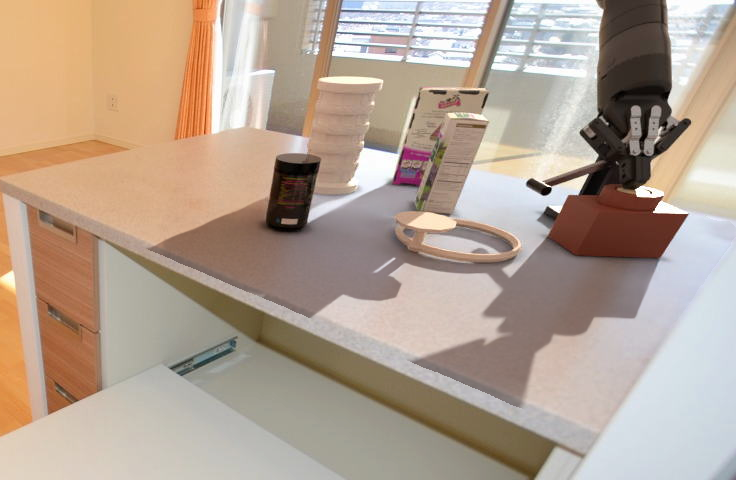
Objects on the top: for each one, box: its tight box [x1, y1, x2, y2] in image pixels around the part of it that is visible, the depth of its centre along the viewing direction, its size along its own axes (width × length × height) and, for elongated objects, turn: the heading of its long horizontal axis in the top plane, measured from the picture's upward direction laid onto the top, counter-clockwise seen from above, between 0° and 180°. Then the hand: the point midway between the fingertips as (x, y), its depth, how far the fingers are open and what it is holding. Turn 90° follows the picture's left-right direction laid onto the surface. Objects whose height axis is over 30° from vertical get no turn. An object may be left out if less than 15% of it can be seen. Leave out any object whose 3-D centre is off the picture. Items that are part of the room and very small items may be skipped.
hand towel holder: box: [394, 210, 522, 263], centre depth 80 cm, size 17×4×21 cm
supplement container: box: [264, 152, 321, 233], centre depth 86 cm, size 7×7×10 cm
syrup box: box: [414, 113, 490, 215], centre depth 91 cm, size 6×6×14 cm
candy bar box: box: [392, 86, 490, 188], centre depth 102 cm, size 11×5×16 cm, turn 67°
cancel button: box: [617, 187, 650, 195], centre depth 76 cm, size 4×4×2 cm
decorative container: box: [306, 75, 384, 196], centre depth 102 cm, size 12×12×18 cm
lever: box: [525, 160, 614, 197], centre depth 84 cm, size 13×5×2 cm, turn 81°
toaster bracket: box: [543, 142, 653, 221], centre depth 84 cm, size 9×10×12 cm
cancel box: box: [547, 184, 690, 259], centre depth 77 cm, size 11×8×8 cm
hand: (634, 186), depth 75 cm, fingers closed
